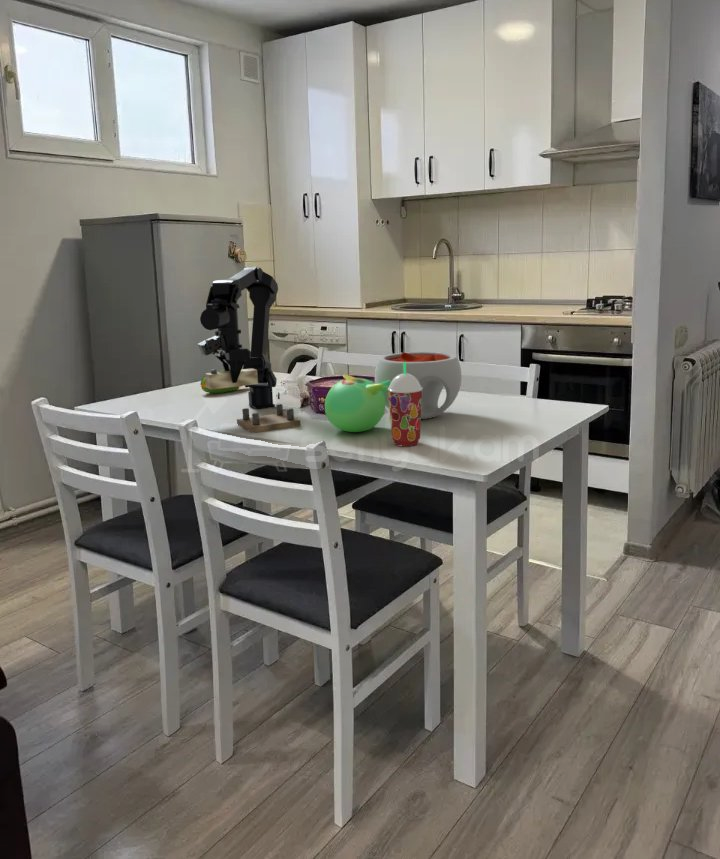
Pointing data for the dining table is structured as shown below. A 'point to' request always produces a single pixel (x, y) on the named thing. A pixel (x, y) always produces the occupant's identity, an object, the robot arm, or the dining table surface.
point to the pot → (424, 376)
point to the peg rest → (268, 420)
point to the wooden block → (224, 379)
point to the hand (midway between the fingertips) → (231, 381)
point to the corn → (214, 391)
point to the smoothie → (405, 408)
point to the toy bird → (356, 404)
